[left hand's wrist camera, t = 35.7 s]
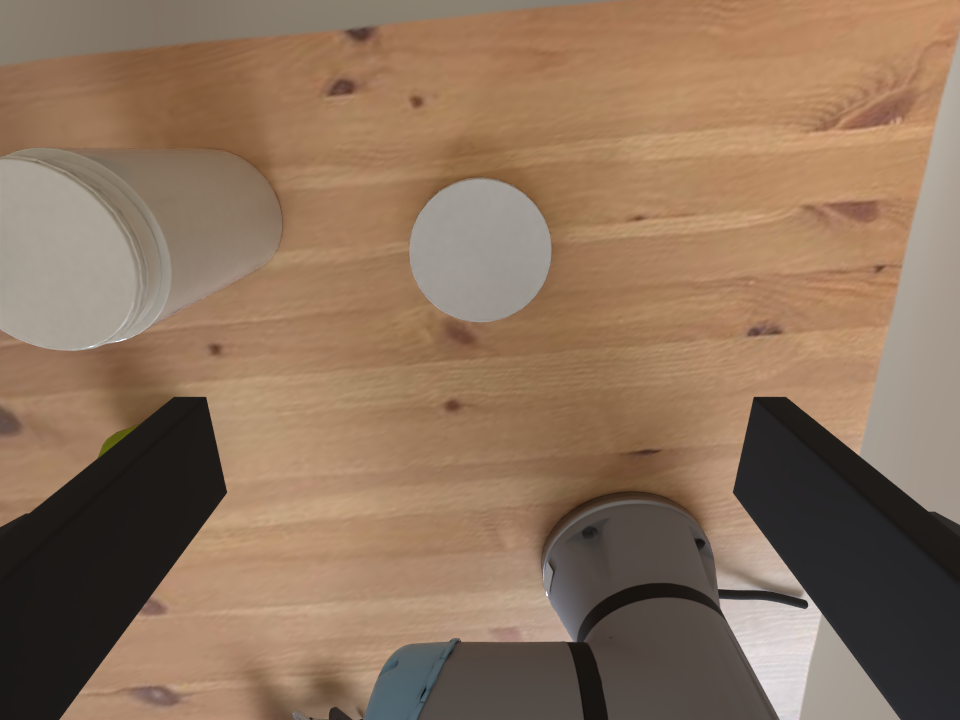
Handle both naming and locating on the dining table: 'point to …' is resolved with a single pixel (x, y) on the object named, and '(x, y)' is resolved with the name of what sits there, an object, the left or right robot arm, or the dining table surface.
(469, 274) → the lid
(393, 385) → the dining table surface
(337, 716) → the clip-on lamp
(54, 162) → the jar
